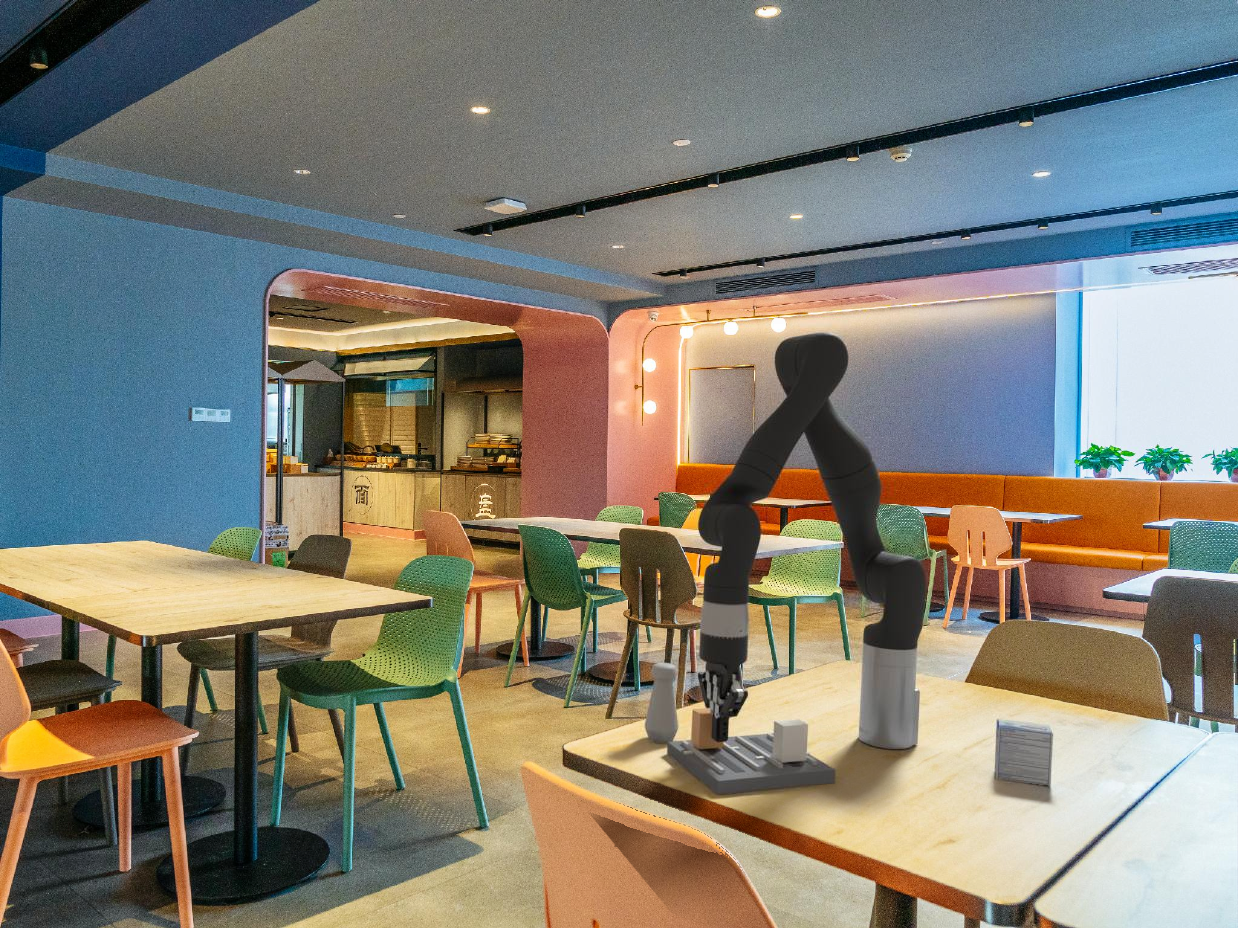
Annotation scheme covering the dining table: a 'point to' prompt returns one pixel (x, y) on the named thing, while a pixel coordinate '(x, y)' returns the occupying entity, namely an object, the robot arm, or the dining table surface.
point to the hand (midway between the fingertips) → (719, 740)
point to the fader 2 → (790, 740)
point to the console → (747, 765)
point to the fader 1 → (703, 730)
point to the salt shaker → (662, 705)
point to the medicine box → (1023, 752)
